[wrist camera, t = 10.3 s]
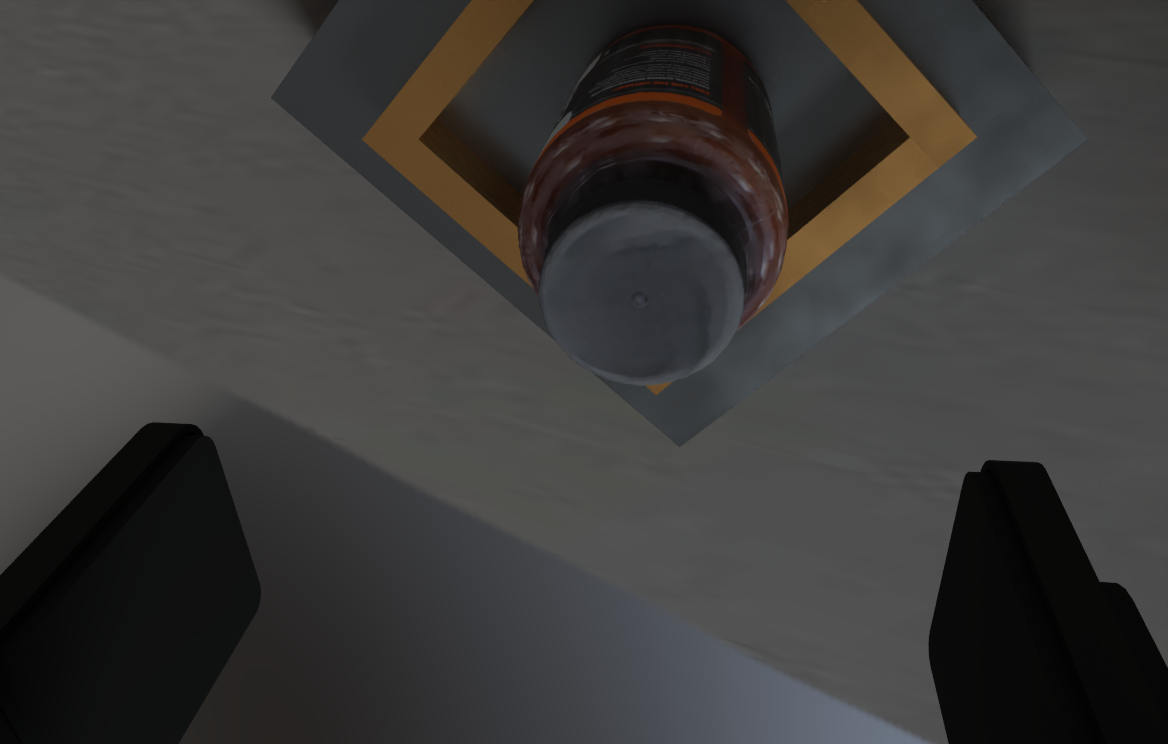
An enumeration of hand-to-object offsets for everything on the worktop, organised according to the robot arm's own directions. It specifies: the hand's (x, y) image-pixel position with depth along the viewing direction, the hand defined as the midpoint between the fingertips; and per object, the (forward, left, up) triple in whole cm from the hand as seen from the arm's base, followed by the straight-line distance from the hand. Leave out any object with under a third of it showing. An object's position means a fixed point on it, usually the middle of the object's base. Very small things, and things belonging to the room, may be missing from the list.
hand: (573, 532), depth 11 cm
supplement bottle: (0, 0, -18) cm, 18 cm away
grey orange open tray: (+2, 0, -23) cm, 23 cm away
